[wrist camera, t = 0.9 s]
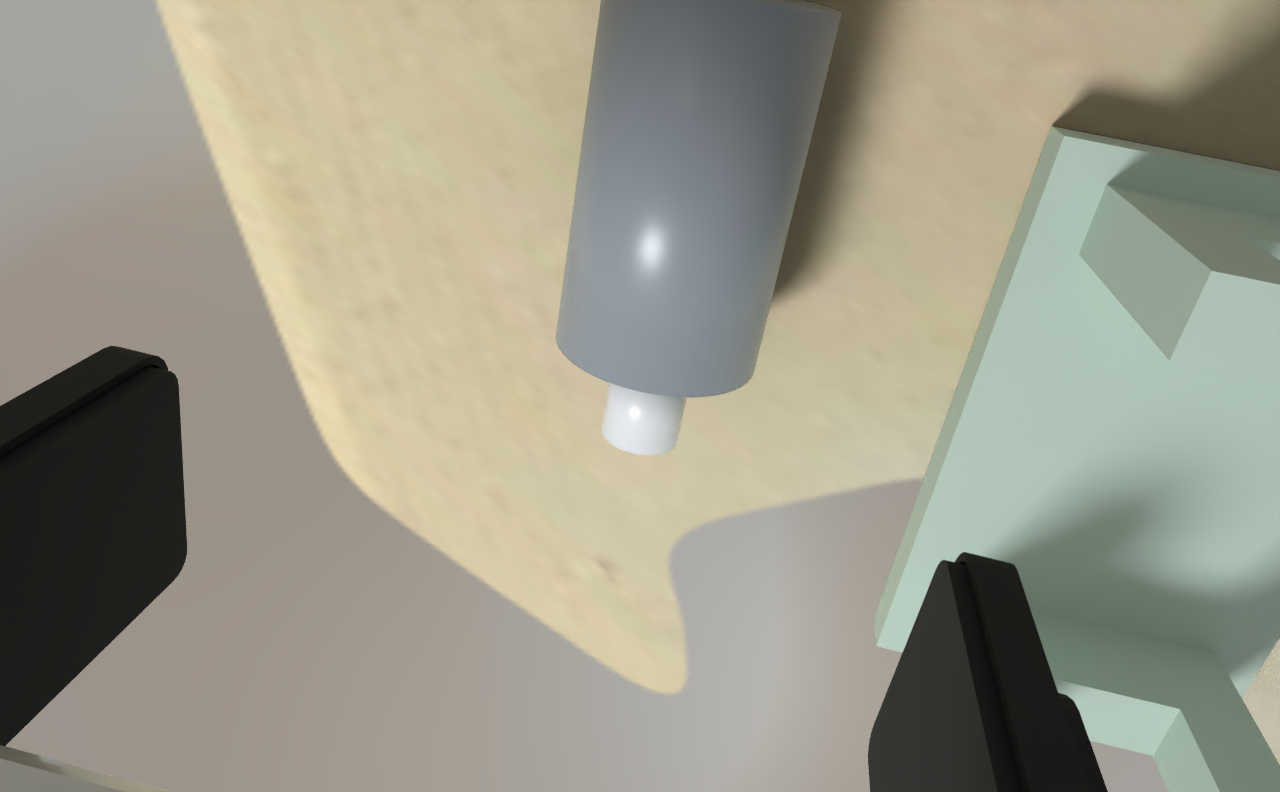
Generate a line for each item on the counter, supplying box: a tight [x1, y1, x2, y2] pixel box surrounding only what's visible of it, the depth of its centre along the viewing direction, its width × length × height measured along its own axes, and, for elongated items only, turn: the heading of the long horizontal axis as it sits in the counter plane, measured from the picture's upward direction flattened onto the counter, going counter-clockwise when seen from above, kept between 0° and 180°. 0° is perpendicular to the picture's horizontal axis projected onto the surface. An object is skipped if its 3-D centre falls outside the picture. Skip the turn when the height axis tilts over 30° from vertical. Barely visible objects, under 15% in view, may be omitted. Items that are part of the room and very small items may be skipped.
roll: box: [556, 0, 842, 455], centre depth 26 cm, size 16×6×6 cm, turn 170°
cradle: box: [874, 126, 1280, 792], centre depth 26 cm, size 18×12×9 cm, turn 170°
